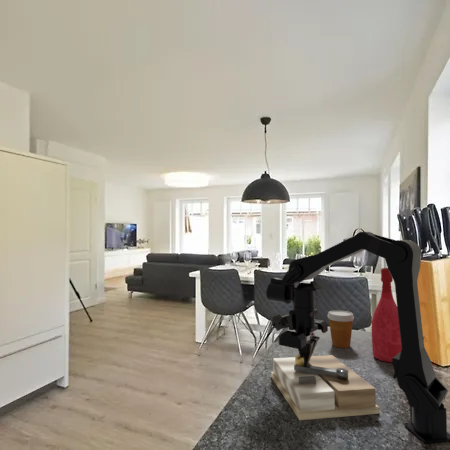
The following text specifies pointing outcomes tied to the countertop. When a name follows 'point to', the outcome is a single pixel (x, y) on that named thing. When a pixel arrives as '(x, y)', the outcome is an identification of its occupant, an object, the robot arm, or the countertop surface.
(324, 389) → the door and jamb
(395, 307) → the wine bottle
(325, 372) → the latch bar
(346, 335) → the disposable coffee cup
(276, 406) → the countertop surface
